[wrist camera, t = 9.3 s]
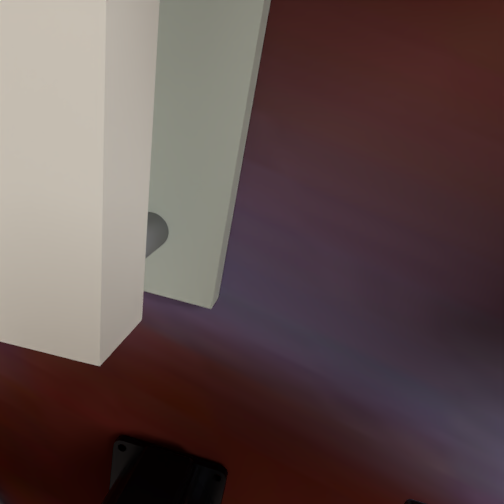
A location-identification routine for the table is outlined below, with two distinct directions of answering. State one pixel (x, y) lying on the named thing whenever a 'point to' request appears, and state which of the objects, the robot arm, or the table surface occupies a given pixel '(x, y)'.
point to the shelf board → (74, 171)
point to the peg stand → (199, 140)
